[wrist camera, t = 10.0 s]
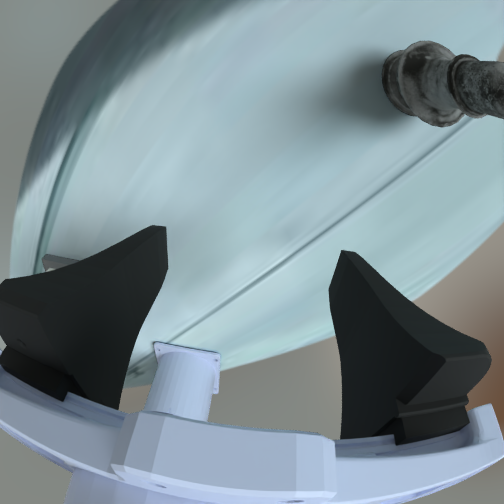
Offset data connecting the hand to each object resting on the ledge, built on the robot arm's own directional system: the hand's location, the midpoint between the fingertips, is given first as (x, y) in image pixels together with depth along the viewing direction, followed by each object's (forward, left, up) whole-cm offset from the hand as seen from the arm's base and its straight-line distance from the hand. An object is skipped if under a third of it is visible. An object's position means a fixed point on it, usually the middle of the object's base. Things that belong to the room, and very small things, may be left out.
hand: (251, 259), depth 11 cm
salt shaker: (+10, -10, -11) cm, 18 cm away
